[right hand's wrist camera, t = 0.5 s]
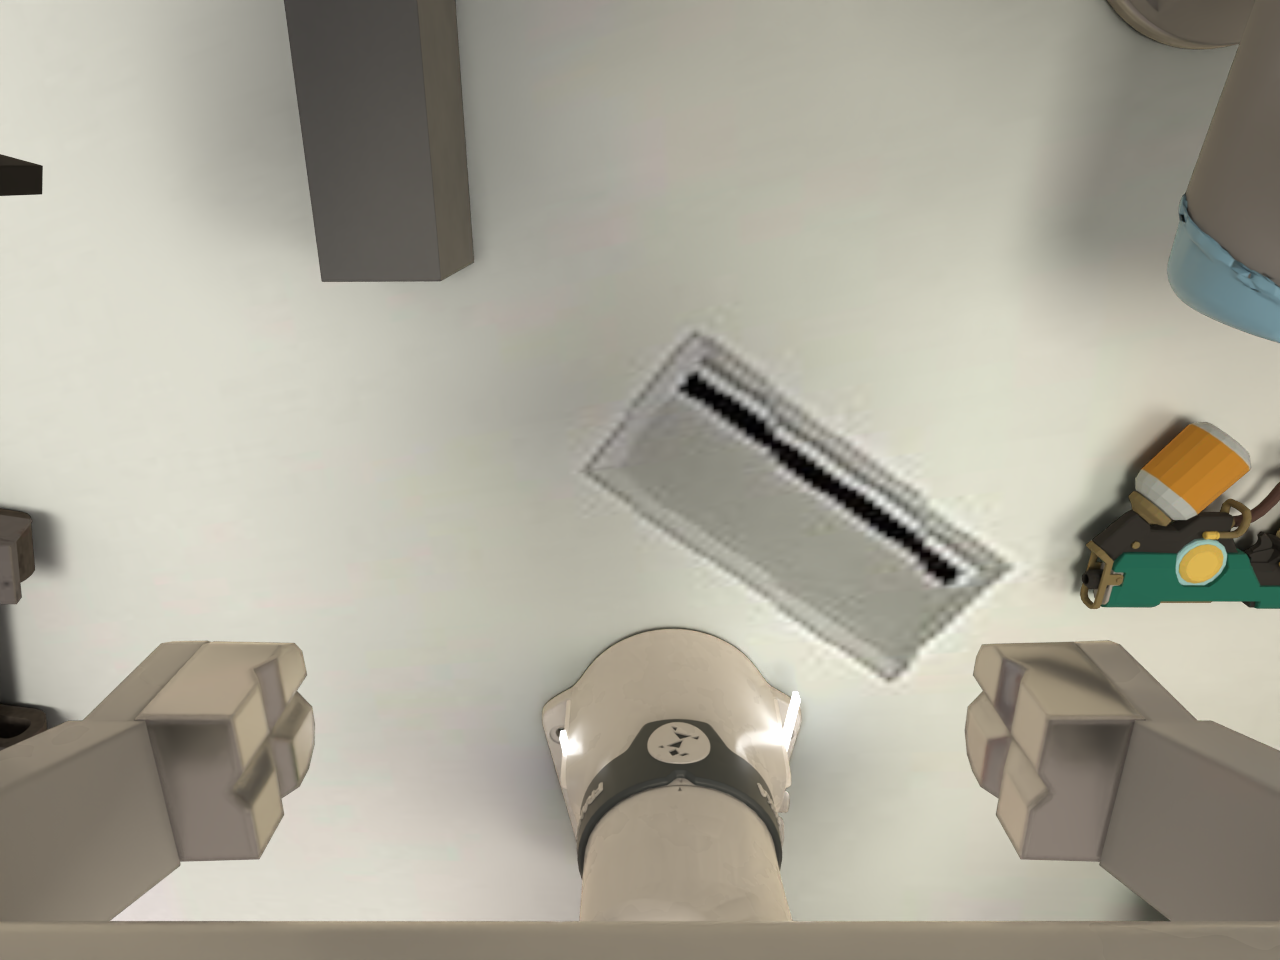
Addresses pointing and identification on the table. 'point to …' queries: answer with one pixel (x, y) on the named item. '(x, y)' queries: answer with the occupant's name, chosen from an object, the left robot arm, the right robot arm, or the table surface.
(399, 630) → the table surface
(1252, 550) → the spray gun
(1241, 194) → the left robot arm
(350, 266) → the box
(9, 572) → the toy
